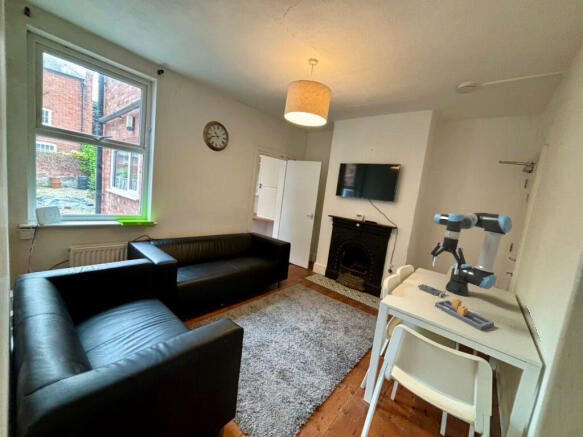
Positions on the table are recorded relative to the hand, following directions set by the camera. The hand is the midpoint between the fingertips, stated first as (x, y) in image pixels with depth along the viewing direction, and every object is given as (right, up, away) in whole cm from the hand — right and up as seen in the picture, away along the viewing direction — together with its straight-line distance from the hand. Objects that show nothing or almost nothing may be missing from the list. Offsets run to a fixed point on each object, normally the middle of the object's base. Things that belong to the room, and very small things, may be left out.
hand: (444, 269), depth 146 cm
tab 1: (+9, -24, +2) cm, 26 cm away
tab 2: (+5, -25, -7) cm, 27 cm away
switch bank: (+8, -28, -5) cm, 29 cm away
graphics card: (+9, -24, +29) cm, 39 cm away
